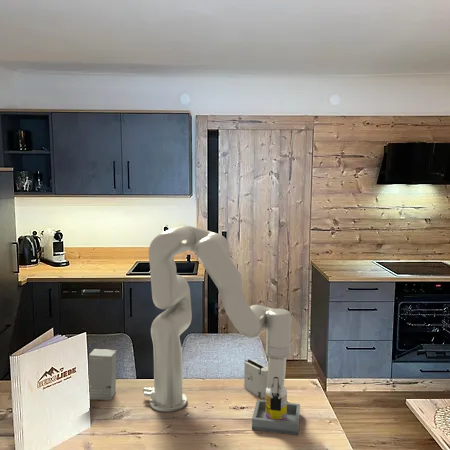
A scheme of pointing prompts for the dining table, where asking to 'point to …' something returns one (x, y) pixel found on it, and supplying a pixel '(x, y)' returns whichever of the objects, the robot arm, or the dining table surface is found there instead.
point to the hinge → (255, 378)
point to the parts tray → (276, 425)
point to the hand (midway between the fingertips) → (276, 403)
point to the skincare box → (102, 374)
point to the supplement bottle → (283, 413)
